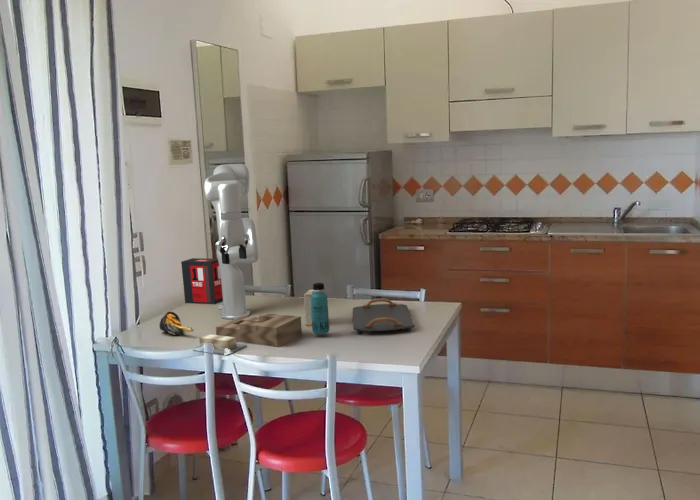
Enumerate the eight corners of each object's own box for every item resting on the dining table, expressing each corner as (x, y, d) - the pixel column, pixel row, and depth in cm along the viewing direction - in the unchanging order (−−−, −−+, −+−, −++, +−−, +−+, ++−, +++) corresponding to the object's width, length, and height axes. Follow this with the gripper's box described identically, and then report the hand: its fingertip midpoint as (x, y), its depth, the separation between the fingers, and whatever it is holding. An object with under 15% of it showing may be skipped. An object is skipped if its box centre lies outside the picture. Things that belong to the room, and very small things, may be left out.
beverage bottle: (312, 334, 247) (308, 282, 244) (329, 332, 248) (326, 281, 245) (312, 338, 241) (309, 285, 238) (330, 337, 241) (327, 284, 238)
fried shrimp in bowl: (170, 316, 267) (202, 305, 258) (171, 343, 263) (203, 332, 255) (152, 313, 260) (184, 301, 251) (153, 340, 256) (186, 329, 247)
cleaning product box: (185, 303, 311) (181, 261, 308) (196, 298, 319) (192, 258, 316) (214, 304, 305) (211, 262, 302) (225, 299, 313) (221, 258, 310)
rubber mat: (192, 350, 234) (192, 349, 234) (212, 342, 244) (212, 340, 244) (227, 355, 226) (226, 354, 226) (246, 346, 236) (246, 344, 236)
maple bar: (200, 346, 236) (199, 337, 236) (208, 343, 240) (207, 334, 240) (228, 350, 230) (227, 341, 230) (236, 346, 234) (235, 337, 234)
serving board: (352, 312, 279) (351, 297, 278) (407, 309, 278) (406, 295, 277) (353, 338, 240) (352, 322, 239) (416, 335, 240) (415, 318, 239)
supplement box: (317, 326, 258) (315, 293, 256) (305, 326, 259) (303, 293, 257) (322, 320, 266) (320, 289, 264) (310, 320, 267) (308, 289, 265)
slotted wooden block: (216, 339, 247) (215, 321, 246) (243, 327, 261) (241, 310, 260) (277, 346, 234) (276, 327, 232) (301, 334, 247) (300, 316, 246)
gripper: (238, 212, 252) (241, 256, 255) (207, 219, 237) (211, 265, 240) (253, 213, 248) (257, 257, 251) (223, 219, 233) (226, 266, 236)
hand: (234, 261), depth 246 cm, fingers open, 9 cm apart
